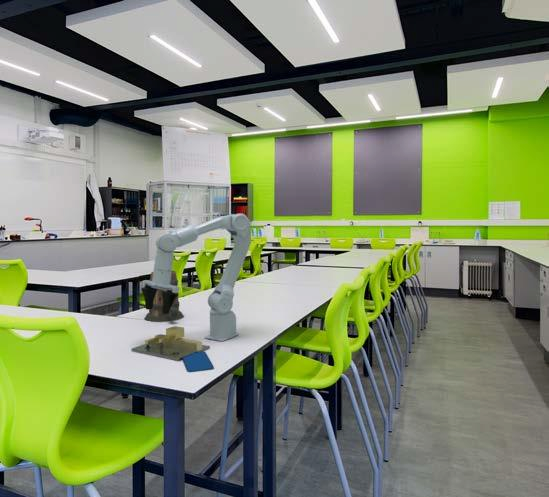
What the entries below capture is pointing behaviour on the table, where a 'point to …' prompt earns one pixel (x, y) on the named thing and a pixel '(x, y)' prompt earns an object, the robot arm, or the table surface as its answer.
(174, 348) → the base
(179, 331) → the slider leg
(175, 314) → the tankard
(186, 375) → the table surface
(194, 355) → the smartphone
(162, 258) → the robot arm
